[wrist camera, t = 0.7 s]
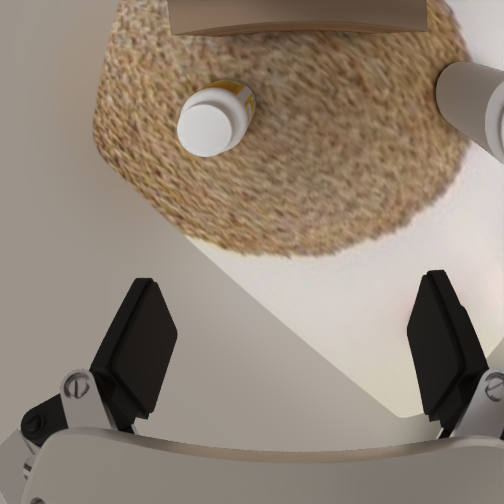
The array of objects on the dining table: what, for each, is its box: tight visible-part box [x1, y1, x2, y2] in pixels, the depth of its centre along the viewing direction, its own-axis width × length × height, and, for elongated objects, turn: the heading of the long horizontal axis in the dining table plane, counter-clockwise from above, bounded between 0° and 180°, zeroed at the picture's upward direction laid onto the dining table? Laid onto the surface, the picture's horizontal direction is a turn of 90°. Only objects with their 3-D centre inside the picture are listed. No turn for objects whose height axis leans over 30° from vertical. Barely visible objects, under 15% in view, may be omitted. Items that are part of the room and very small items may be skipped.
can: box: [436, 61, 504, 164], centre depth 19 cm, size 8×8×12 cm
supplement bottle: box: [177, 79, 256, 157], centre depth 25 cm, size 5×5×10 cm
